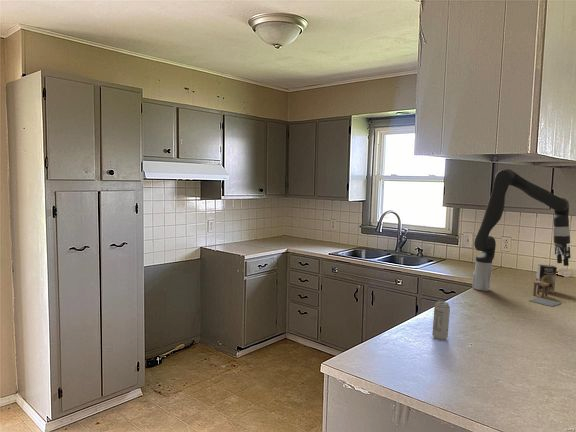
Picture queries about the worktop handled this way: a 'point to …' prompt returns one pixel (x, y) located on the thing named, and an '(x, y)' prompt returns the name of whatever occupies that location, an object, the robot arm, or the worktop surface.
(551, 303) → the mat
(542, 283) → the stool
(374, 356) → the worktop surface
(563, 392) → the worktop surface
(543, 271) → the coffee box
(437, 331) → the energy drink can
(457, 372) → the worktop surface
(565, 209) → the robot arm
